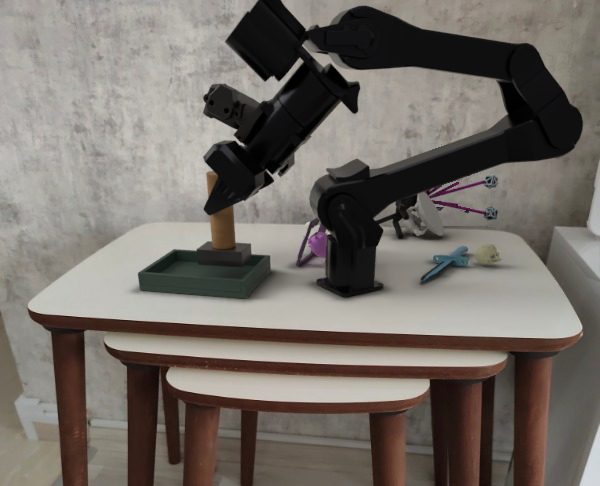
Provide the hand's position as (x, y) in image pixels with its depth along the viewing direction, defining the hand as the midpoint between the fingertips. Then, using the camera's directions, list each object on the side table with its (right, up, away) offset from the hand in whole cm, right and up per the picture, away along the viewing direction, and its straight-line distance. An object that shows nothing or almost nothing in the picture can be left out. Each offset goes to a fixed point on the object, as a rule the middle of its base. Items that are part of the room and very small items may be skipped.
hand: (211, 209), depth 76 cm
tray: (-1, -8, +5) cm, 9 cm away
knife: (+29, -4, +10) cm, 31 cm away
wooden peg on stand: (+1, -6, +3) cm, 7 cm away
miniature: (+33, +7, +22) cm, 40 cm away
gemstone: (+37, -5, +10) cm, 39 cm away
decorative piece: (+22, +3, +21) cm, 30 cm away
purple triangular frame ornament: (+14, -4, +13) cm, 20 cm away
